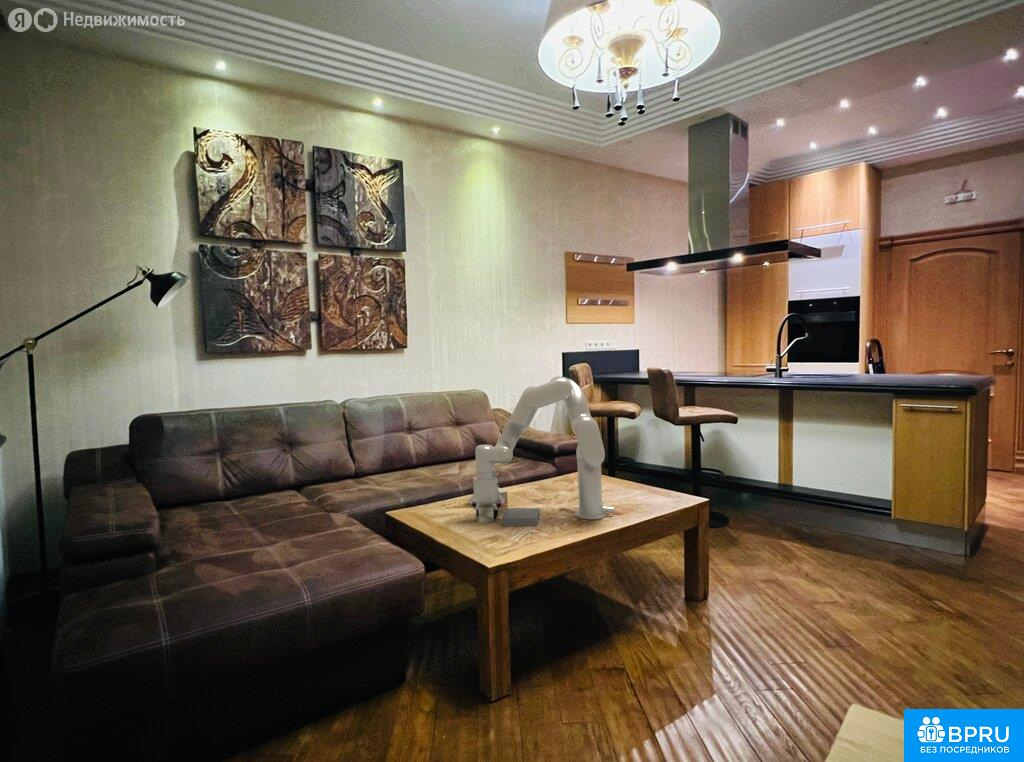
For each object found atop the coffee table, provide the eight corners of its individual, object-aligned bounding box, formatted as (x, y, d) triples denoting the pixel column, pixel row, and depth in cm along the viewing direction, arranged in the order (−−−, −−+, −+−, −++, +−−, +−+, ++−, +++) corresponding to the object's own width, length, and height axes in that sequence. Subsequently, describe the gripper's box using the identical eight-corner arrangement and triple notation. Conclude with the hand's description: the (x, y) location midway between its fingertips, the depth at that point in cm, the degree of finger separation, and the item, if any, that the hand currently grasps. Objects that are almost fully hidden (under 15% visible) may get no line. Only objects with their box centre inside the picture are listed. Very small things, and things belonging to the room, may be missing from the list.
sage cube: (495, 518, 227) (495, 503, 227) (493, 522, 221) (492, 508, 221) (481, 518, 228) (481, 503, 227) (478, 522, 222) (478, 508, 221)
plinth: (539, 515, 229) (539, 508, 228) (537, 526, 215) (536, 518, 215) (506, 515, 230) (506, 508, 230) (501, 525, 217) (501, 518, 216)
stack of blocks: (508, 512, 234) (507, 484, 233) (495, 515, 231) (494, 486, 230) (485, 501, 253) (484, 475, 252) (473, 503, 250) (472, 477, 249)
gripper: (507, 473, 226) (509, 515, 227) (466, 473, 228) (468, 515, 229) (505, 477, 218) (507, 521, 219) (462, 477, 221) (464, 521, 222)
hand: (487, 518), depth 224 cm, fingers closed on sage cube, 6 cm apart
